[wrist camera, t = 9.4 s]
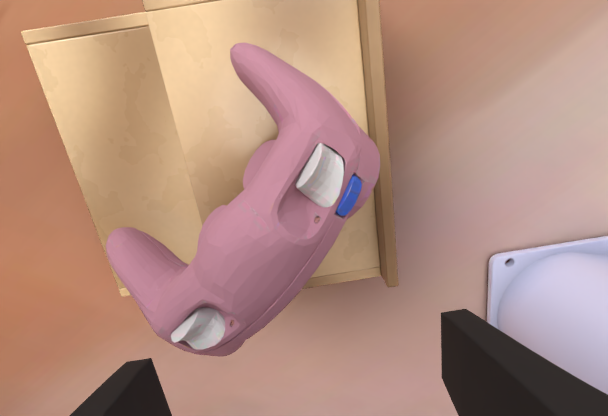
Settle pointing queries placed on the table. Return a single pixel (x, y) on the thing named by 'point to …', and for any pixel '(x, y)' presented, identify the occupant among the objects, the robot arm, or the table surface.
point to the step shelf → (208, 114)
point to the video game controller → (257, 219)
